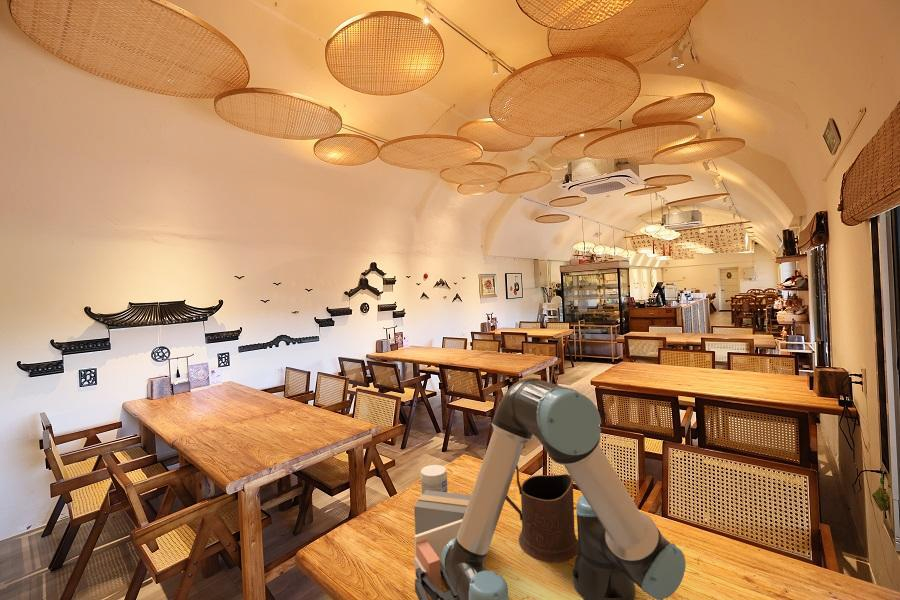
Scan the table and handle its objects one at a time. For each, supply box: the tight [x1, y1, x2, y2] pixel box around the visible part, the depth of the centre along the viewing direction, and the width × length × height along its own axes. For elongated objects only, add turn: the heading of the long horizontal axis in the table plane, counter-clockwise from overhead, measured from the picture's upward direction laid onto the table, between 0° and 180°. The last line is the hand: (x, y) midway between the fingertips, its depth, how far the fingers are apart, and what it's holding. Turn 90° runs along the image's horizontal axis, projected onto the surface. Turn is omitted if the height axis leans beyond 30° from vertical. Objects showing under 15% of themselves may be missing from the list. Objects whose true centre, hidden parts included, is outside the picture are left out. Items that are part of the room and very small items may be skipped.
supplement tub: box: [420, 464, 449, 495], centre depth 136 cm, size 10×10×15 cm
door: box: [413, 519, 463, 600], centre depth 101 cm, size 16×10×12 cm, turn 116°
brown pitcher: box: [505, 465, 579, 564], centre depth 117 cm, size 18×24×25 cm
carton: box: [413, 490, 471, 535], centre depth 116 cm, size 18×10×14 cm, turn 73°
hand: (422, 559), depth 101 cm, fingers closed on door, 3 cm apart
